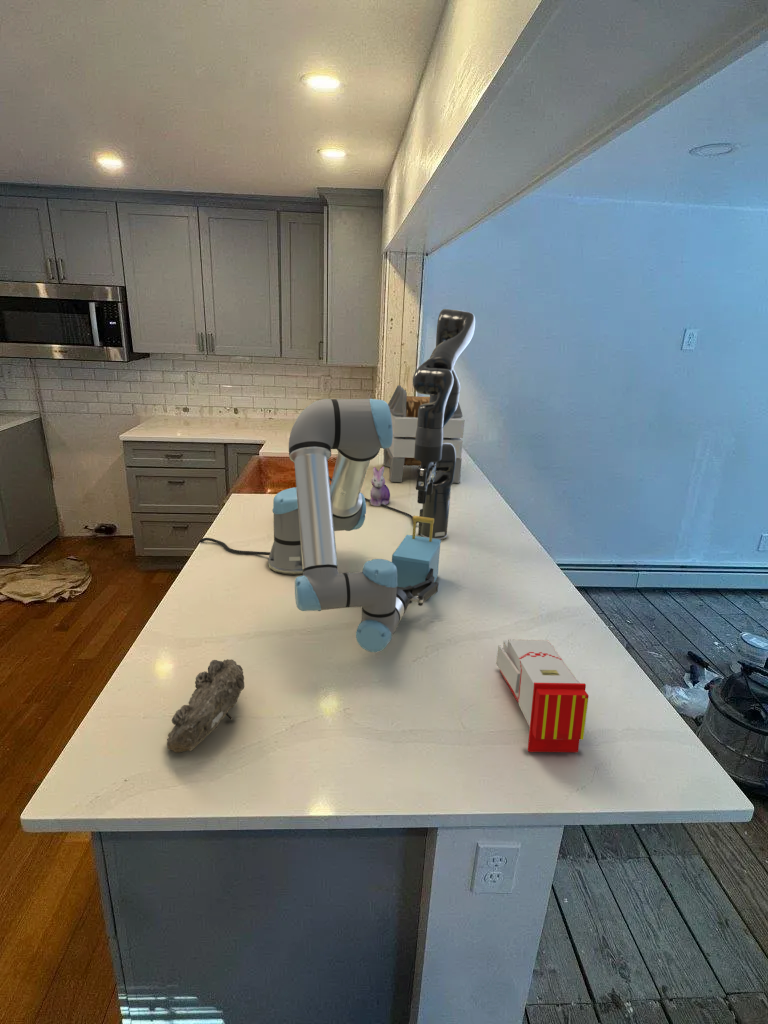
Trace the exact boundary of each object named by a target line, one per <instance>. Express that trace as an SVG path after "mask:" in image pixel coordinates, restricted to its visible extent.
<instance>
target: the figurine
mask: <svg viewBox="0 0 768 1024" xmlns="http://www.w3.org/2000/svg"><path fill="white" fill-rule="evenodd" d="M372 472H373V473H372V474H373V476H372V478H371V485H372V487H371V488H370V499H369V500H370V502H369V504H370V505H371V506H373V507H382V506H381V504H384V505H386V506H387V505H388V504H389V503H390V500H391V492H390V489H389V487H388V486H387V485H386V479H385V476H384V472H385V466H384V465H383V466H381V467H380V468H379V470H378V469H377V467H376V466H374V467H373V468H372Z"/></svg>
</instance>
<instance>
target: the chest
mask: <svg viewBox="0 0 768 1024" xmlns="http://www.w3.org/2000/svg"><path fill="white" fill-rule="evenodd" d="M440 551H441V544H440V545H439V547H438V549H437V551H436V553H435V555H434V557H433V558H432V560H431V562H430V564H429V565H428V564H422V563H416V562H410V561H403V560H397V559H392V558H391V562H392V563H393V564H394V565H395V566H396V568H397V583H398V585H397V586H398V587H407V586H410V585H411V586H414V585H417V584H419V583H422V582H424V581H425V578H426V576H427V574H428V573H429V571H430V569H431V568H432V569H433V577H434V582H437V578H439V577H438V576H439V575H438V574H439V565H440V553H441V552H440Z"/></svg>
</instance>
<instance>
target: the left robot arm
mask: <svg viewBox="0 0 768 1024" xmlns="http://www.w3.org/2000/svg"><path fill="white" fill-rule="evenodd" d="M392 438H393V430H392V419H391V413H390V409H389V406H388V402H386V401H385V400H383V399H374V398H336V399H335V398H322V399H318V400H316V401H314V402H312V403H311V404H309V405H306V407H305V408H304V409H303V410H302V411H301V412H300V413H299V415H297V418H296V419H295V421H294V423H293V426H292V427H291V431H290V434H289V438H288V456H289V457H288V458H289V460H290V461H291V462H292V463H293V465H294V475H295V476H294V477H295V487H290V488H286V489H283V490H281V491H278V492H277V493H276V494H275V496H274V497H273V505H272V513H273V543H272V546H271V550H270V551H254V550H239V549H233V548H232V547H231V548H230V547H229V546H228V545H227V544H226V543H225V542H224V541H221V540H218V539H215V538H211V537H203V538H201V539H200V540H198V543H199V544H201V543H203V542H206V541H207V542H208V541H209V542H213V543H216V544H219V545H220V546H222V547H223V548H224V549H225V550H226V551H228V552H231V553H233V554H239V555H241V554H242V555H257V556H258V555H259V556H268V561H267V562H268V565H267V566H268V568H269V569H270V570H271V571H273V572H276V573H278V574H282V575H290V576H291V575H294V576H295V575H299V576H296V577H295V579H294V600H295V605H296V608H297V610H299V611H301V612H313V611H314V612H315V611H317V612H321V611H326V610H327V611H329V610H338V609H347V608H348V609H349V608H359V607H360V608H361V620H360V623H358V625H357V629H356V631H355V640H356V642H357V644H358V646H359V647H361V648H362V649H363V650H364V651H367V652H369V653H379V652H382V651H383V650H384V649H386V647H387V646H388V644H389V643H390V642H391V641H392V640H393V635H394V634H395V632H396V630H397V628H398V626H399V624H400V623H401V620H402V619H403V616H404V615H405V613H406V612H407V610H408V607H409V605H410V604H412V603H416V604H417V606H419V607H422V606H424V603H425V602H426V601H427V600H429V599H430V598H432V596H434V595H435V594H436V593H438V591H439V582H438V581H435V582H434V577H433V569H432V568H431V569H430V571H429V573H428V574H427V576H426V578H425V581H424V582H422V583H419V584H417V585H414V586H411V585H410V586H407V587H398V586H397V585H398V583H397V568H396V566H395V565H394V564H393V563H392V561H390V560H388V559H383V558H374V559H371V560H367V561H365V563H364V564H363V567H362V571H353V572H350V571H349V572H339V569H338V568H339V567H338V566H339V565H338V555H337V545H336V533H335V532H340V531H341V532H342V531H343V532H344V531H346V532H350V531H355V530H359V529H361V528H362V526H363V525H364V523H365V520H366V514H367V503H366V502H367V501H366V500H365V498H366V497H365V495H364V494H363V493H362V492H361V491H362V487H363V485H364V481H365V478H366V476H367V471H368V468H369V465H370V462H371V461H372V460H373V459H375V458H376V457H377V456H378V455H379V453H380V451H381V449H383V450H384V449H385V448H389V447H390V446H391V444H392ZM332 450H336V451H337V456H336V459H335V465H334V469H333V473H332V477H331V479H332V481H330V479H329V477H330V472H329V460H330V458H331V457H332Z"/></svg>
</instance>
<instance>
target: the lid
mask: <svg viewBox="0 0 768 1024" xmlns="http://www.w3.org/2000/svg"><path fill="white" fill-rule="evenodd" d="M412 516H413V521H412V534H406V535H405V537H404V538H403V539H402V541H401V542H400V544H399V545H398V546H397V548H396V549H395V551H393V553H392V555H391V560H392V559H397V560H403V561H410V562H416V563H422V564H428V565H429V564H430V562H431V560H432V558H433V557H434V555H435V553H436V551H437V549H438V547H439V545H440V546H441V543H442V540H439V539H432V532H433V524H434V518H428V517H421V516H419V515H412ZM416 521H417V522H424V523H430V535H429V538H426V537H421V536H419V535H416V529H417V524H416Z"/></svg>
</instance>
